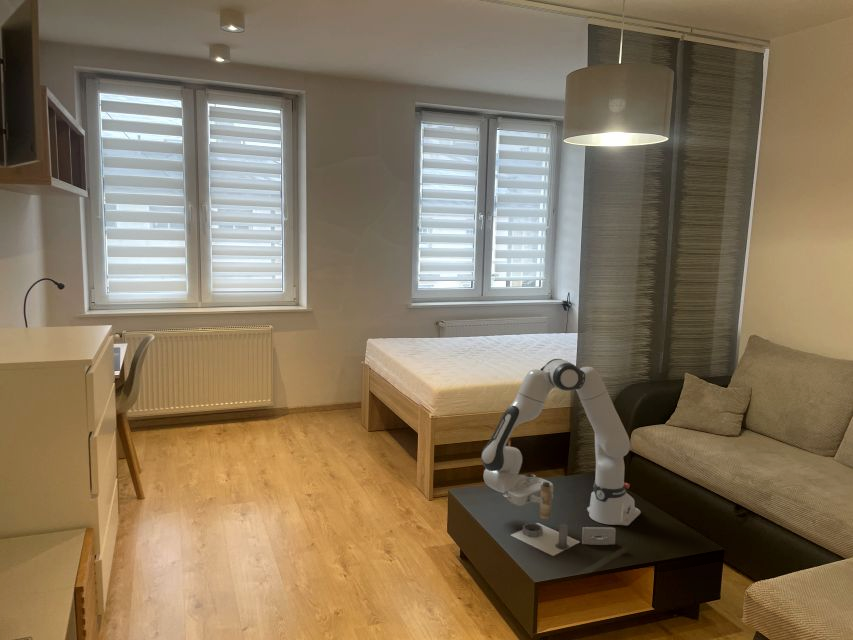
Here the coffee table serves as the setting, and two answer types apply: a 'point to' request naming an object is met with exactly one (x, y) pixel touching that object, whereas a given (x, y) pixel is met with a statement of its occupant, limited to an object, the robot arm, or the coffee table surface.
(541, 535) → the plate
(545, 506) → the wooden leg
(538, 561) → the coffee table surface
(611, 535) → the cassette
